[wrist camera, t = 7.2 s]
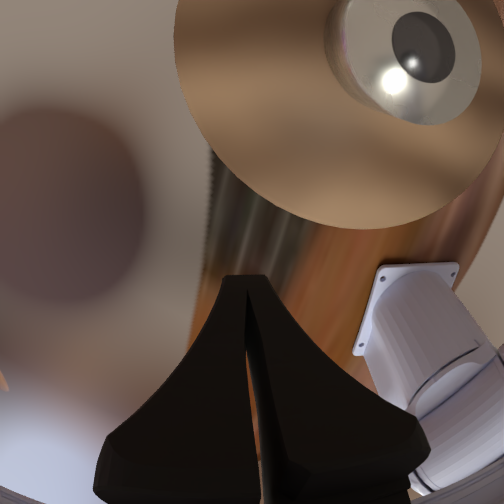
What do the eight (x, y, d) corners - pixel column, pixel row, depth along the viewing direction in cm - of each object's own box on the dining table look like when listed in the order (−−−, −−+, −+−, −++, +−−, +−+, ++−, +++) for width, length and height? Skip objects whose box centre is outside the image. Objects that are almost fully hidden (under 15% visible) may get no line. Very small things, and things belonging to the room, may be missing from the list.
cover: (439, 121, 14) (478, 136, 11) (322, 107, 14) (346, 117, 11) (442, 6, 10) (482, 1, 8) (321, -25, 10) (345, -46, 7)
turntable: (473, 224, 19) (482, 232, 18) (184, 221, 18) (181, 231, 17) (496, -31, 9) (508, -33, 8) (187, -108, 7) (185, -118, 6)
